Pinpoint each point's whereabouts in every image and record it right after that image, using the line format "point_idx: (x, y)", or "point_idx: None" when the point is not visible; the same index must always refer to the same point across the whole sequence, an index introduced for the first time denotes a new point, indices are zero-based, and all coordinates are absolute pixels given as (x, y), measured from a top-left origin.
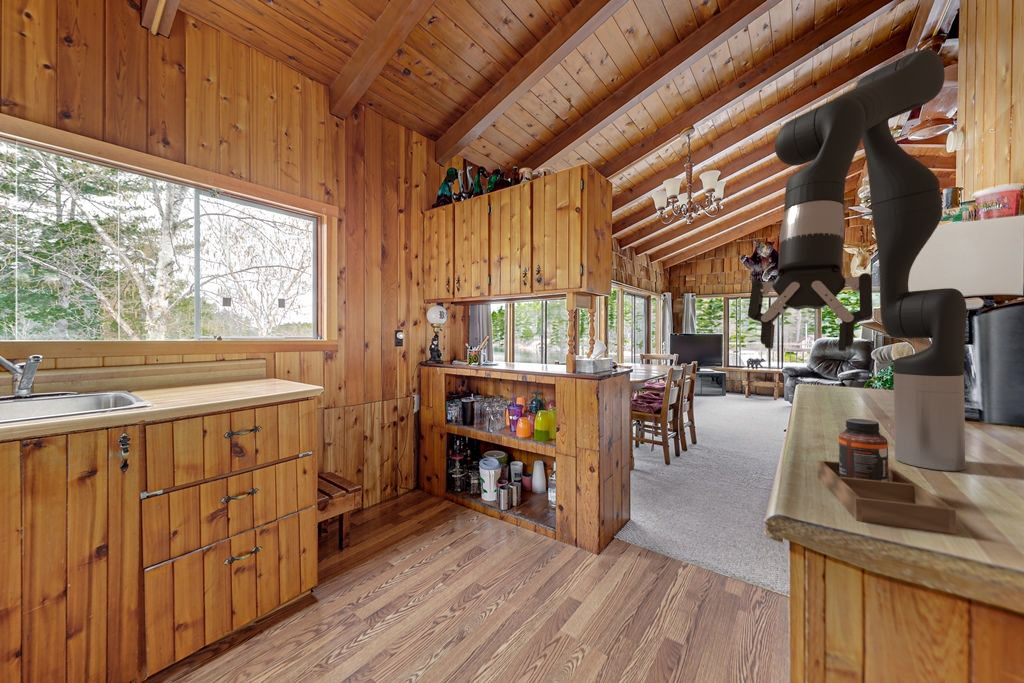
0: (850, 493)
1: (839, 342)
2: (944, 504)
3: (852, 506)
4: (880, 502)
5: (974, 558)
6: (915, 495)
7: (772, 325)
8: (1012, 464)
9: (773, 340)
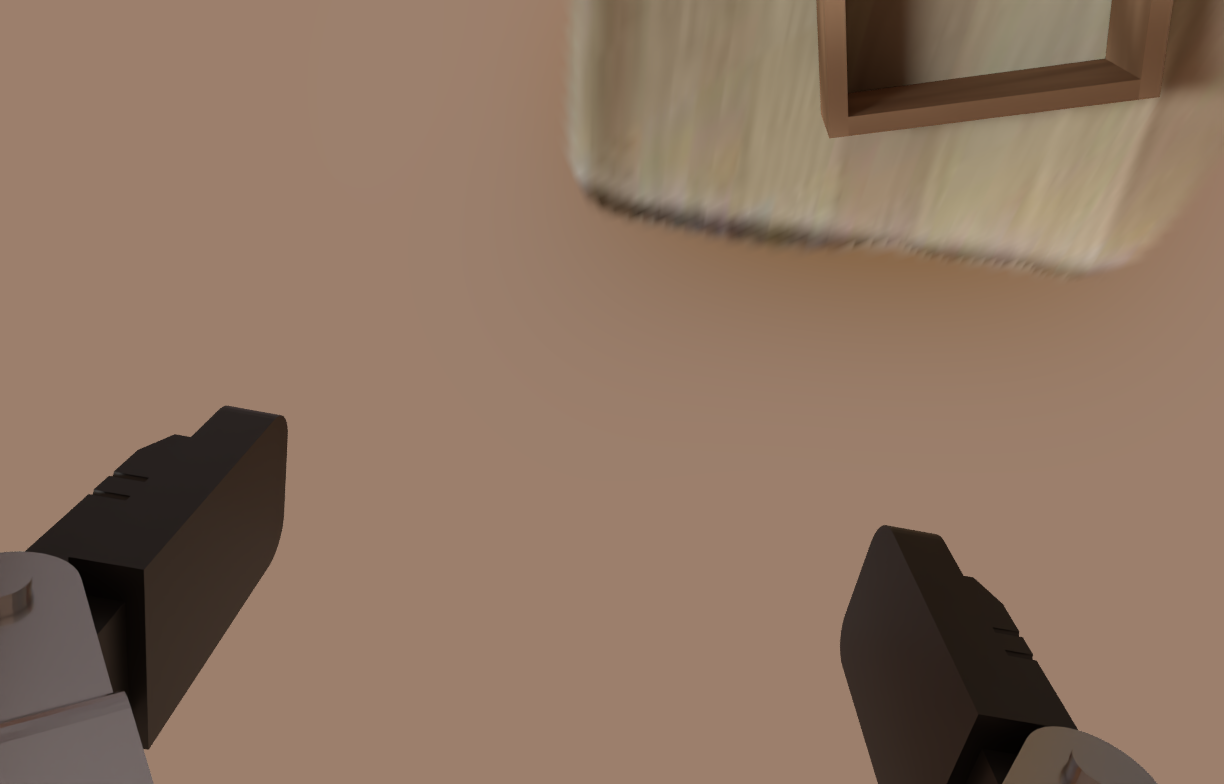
0: (827, 72)
1: (855, 697)
2: (1157, 39)
3: (823, 82)
4: (911, 125)
5: (1061, 255)
6: None
7: (160, 679)
8: None
9: (247, 455)
